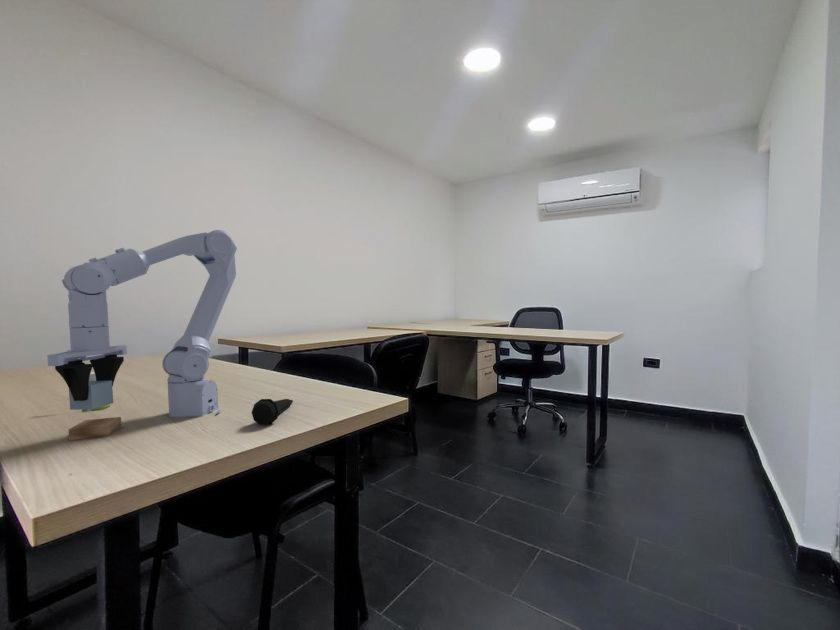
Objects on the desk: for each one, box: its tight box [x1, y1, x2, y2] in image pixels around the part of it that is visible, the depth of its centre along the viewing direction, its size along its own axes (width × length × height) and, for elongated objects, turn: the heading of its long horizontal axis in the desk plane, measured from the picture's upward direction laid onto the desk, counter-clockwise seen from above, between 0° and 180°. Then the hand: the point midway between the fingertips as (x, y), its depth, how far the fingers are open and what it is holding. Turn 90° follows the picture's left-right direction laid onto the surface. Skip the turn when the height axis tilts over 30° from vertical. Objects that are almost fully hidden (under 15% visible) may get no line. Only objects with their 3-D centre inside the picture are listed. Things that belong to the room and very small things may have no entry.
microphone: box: [251, 398, 294, 425], centre depth 90 cm, size 6×6×20 cm
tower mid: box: [68, 416, 122, 441], centre depth 74 cm, size 6×6×2 cm
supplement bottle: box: [81, 371, 111, 413], centre depth 95 cm, size 5×5×10 cm
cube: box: [68, 381, 114, 411], centre depth 74 cm, size 4×4×4 cm
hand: (93, 396), depth 74 cm, fingers closed on cube, 4 cm apart
